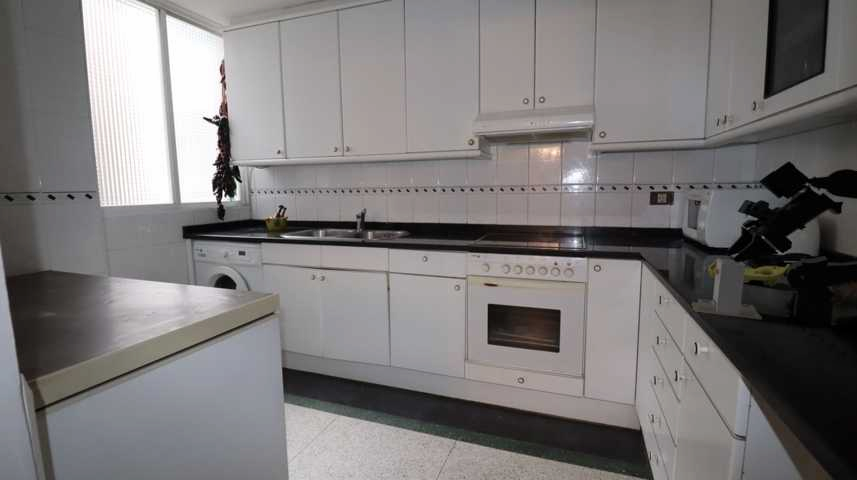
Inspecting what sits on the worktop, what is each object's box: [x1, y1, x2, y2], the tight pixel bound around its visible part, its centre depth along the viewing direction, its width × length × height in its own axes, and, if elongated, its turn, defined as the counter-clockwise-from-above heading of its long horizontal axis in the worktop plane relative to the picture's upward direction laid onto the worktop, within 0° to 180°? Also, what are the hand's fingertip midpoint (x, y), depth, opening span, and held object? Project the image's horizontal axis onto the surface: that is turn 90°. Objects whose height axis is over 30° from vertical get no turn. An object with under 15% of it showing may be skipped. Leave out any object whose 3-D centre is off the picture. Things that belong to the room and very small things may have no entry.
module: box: [712, 258, 746, 315], centre depth 98 cm, size 5×7×12 cm
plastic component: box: [708, 257, 792, 287], centre depth 129 cm, size 20×7×10 cm
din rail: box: [691, 298, 763, 320], centre depth 99 cm, size 13×7×2 cm, turn 62°
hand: (730, 257), depth 97 cm, fingers open, 9 cm apart
